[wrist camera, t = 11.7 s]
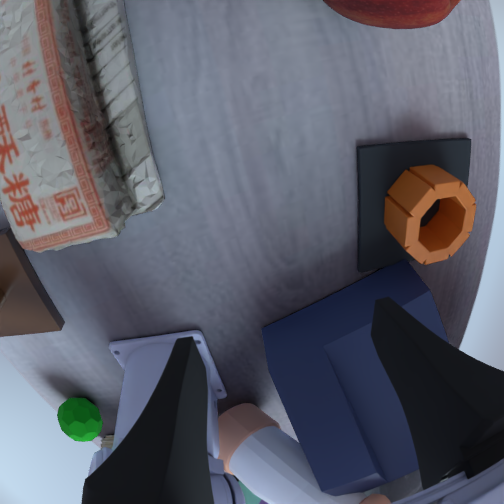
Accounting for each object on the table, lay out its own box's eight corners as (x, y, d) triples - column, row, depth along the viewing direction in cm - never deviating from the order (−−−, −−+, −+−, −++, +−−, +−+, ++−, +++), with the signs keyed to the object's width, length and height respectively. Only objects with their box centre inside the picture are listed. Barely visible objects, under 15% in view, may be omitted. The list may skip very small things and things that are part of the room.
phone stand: (403, 256, 22) (493, 383, 12) (421, 341, 28) (473, 439, 18) (261, 328, 24) (287, 478, 14) (315, 393, 30) (343, 499, 20)
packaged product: (159, 241, 14) (5, 276, 14) (172, 198, 18) (37, 233, 18) (87, -113, 4) (-70, -8, 4) (114, -79, 8) (-23, -5, 9)
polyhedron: (93, 416, 31) (87, 451, 27) (57, 397, 28) (47, 432, 24) (113, 404, 29) (107, 442, 25) (73, 383, 27) (63, 422, 23)
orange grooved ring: (445, 232, 21) (467, 254, 19) (382, 246, 21) (401, 271, 19) (453, 161, 18) (480, 178, 16) (384, 169, 18) (409, 187, 16)
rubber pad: (454, 246, 22) (457, 249, 22) (357, 269, 22) (359, 272, 22) (468, 138, 18) (471, 139, 17) (356, 146, 18) (359, 148, 17)
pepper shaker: (269, 407, 33) (415, 501, 19) (234, 456, 31) (366, 556, 17) (229, 397, 28) (404, 520, 14) (190, 453, 26) (340, 583, 13)
